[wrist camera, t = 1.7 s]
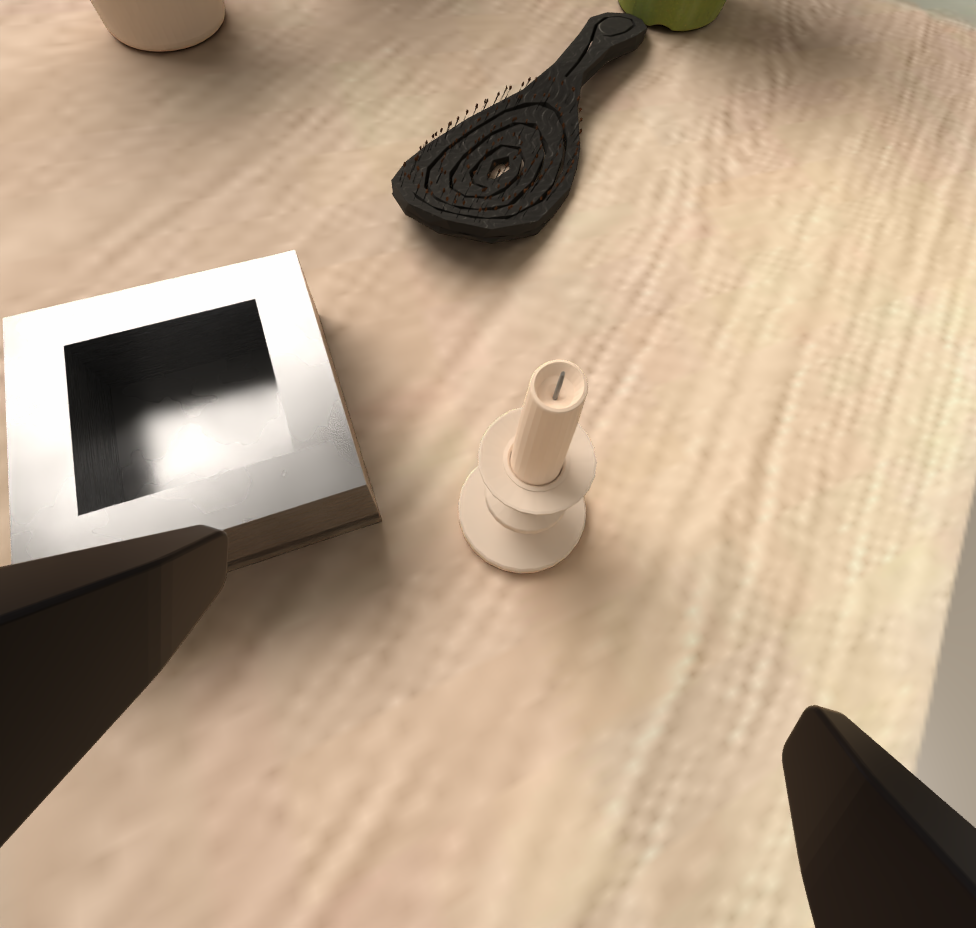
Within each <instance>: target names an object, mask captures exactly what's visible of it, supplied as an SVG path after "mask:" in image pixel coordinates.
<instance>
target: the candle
mask: <svg viewBox="0 0 976 928" xmlns="http://www.w3.org/2000/svg"><path fill="white" fill-rule="evenodd" d="M587 391H588V383H587V379H586V376H585V374H584V372H583V371H582V370H581V369H580V367H578V366H577V365H575V364H574V363H572V362H569V361H567V360H552V361H549V362H546V363H544V364H542V365H541V366H539V367H538V368H537V369H536V371H535V372H534V373H533V375H532V377H531V380H530V383H529V386H528V390H527V393H526V397H525V400H524V404H523V407H520V408H517V409H513V410H510V411H508V412H506V413H505V414H503V415H501V416H499V417H498V418H497V419H496V420H495V421H494V422H493V423H492V424H491V425H490V426H489V427H488V428H487V430H486V431H485V433H484V435H483V437H482V439H481V441H480V446H479V451H478V466H477V467H476V468H475V469H474V470H473V471H472V472H471V473H470V474H469V475H468V477H467V479H466V481H465V483H464V485H463V486H462V489H461V493H460V498H459V502H458V510H459V523H460V526H461V529H462V532H463V535H464V538H465V539H466V541H467V542H468V544H469V545H470V547H471V548H472V549H473V551H474V552H475V553H476V554H477V555H479V556H480V557H481V558H482V559H483V560H484V561H486V562H487V563H489V564H491V565H493V566H495V567H497V568H499V569H501V570H504V571H509V572H514V573H519V574H520V573H536V572H539V571H542V570H545V569H548V568H551V567H553V566H555V565H556V564H557V563H559V562H560V561H562V560H563V559H565V558H566V557H567V556H568V555H569V553H570V552H571V551H572V550H573V549H574V547H575V546H576V545H577V543H578V542H579V539H580V537H581V535H582V532H583V530H584V527H585V519H586V507H585V500H584V495H585V494H586V493H587V492H588V490H589V489H590V486H591V484H592V482H593V480H594V477H595V473H596V464H597V460H596V454H595V448H594V446H593V444H592V442H591V439H590V437H589V435H588V434H587V433H586V431H585V430H584V429H583V428H582V427H581V425H580V424H579V423H578V421H579V418H580V414H581V411H582V408H583V405H584V401H585V398H586V395H587Z"/></svg>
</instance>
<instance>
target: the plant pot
mask: <svg viewBox="0 0 976 928" xmlns="http://www.w3.org/2000/svg"><path fill="white" fill-rule="evenodd" d="M618 2H619V4H620V6H621V7H622V9H623V10H624V11H625V12H626V13H627V14H631V15H634V16H636V17H638V18H640V19H642V20H643V22H644V24H645V25H648V26H652V25H655V24H661V25H664V26H666V27H668V28H670V29H671V30H672V31H688V30H692V29H697V28H700V27H703V26H705V25H707V24H709V23H710V22H712V21H713V20H714V19H715V18H716V17H717V16H718V14H719V13H720V11H721V9H722V7H723V5H724V3H725V2H726V0H618Z"/></svg>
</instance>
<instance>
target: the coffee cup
mask: <svg viewBox="0 0 976 928" xmlns="http://www.w3.org/2000/svg"><path fill="white" fill-rule="evenodd" d="M90 1H91V3H92V4H93V6H94V8H95V9H96V11H97V13H98V14H99V16H100V18H101V20H102V21H103V23H104V25H105V26H106V28H107V29H108V30H109V32H110V33H111V34H112V35H113V36H114V37H115V38H117V39H118V40H119V41H120V42H122V43H124V44H126V45H128V46H130V47H134V48H137V49H140V50H146V51H160V52H163V51H174V50H179V49H184V48H188V47H191V46H194V45H196V44H199V43H201V42H203V41H204V40H206V39H207V38H209V37H210V36H212V35H213V34H214V33H215V32H216V31H217V30H218V29H219V27H220V26H221V24H222V23H223V20H224V16H225V5H224V0H90Z"/></svg>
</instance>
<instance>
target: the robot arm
mask: <svg viewBox="0 0 976 928" xmlns="http://www.w3.org/2000/svg"><path fill="white" fill-rule="evenodd" d="M227 559H228V535H227V534H226V532H225V531H223V530H220V529H217V528H213V527H210V526H207V525H201V524H199V525H194V526H189V527H185V528H180V529H175V530H171V531H166V532H161V533H157V534H152V535H147V536H143V537H138V538H133V539H128V540H124V541H119V542H114V543H110V544H105V545H100V546H96V547H91V548H86V549H82V550H77V551H72V552H68V553H63V554H58V555H54V556H49V557H44V558H40V559H35V560H30V561H26V562H21V563H16V564H12V565H7V566H2V567H0V848H1V846H2V845H3V844H4V843H5V842H6V841H7V840H8V839H9V838H10V837H11V835H12V834H13V833H14V832H15V831H16V830H17V829H18V828H19V827H20V826H21V824H22V823H23V822H24V821H25V820H26V819H27V818H28V817H29V816H30V815H31V813H32V812H33V811H34V810H35V809H36V808H37V807H38V806H39V805H40V804H41V802H42V801H43V800H44V799H45V798H46V797H47V796H48V795H49V794H50V793H51V792H52V790H53V789H54V788H55V787H56V786H57V785H58V784H59V783H60V782H61V781H62V779H63V778H64V777H65V776H66V775H67V774H68V773H69V772H70V771H71V770H72V768H73V767H74V766H75V765H76V764H77V763H78V762H79V761H80V760H81V759H82V757H83V756H84V755H85V754H86V753H87V752H88V751H89V750H90V749H91V748H92V746H93V745H94V744H95V743H96V742H97V741H98V740H99V739H100V738H101V737H102V735H103V734H104V733H105V732H106V731H107V730H108V729H109V728H110V727H111V726H112V724H113V723H114V722H115V721H116V720H117V719H118V718H119V717H120V716H121V715H122V713H123V712H124V711H125V710H126V709H127V708H128V707H129V706H130V705H131V704H132V702H133V701H134V700H135V699H136V698H137V697H138V696H139V695H140V694H141V693H142V691H143V690H144V689H145V688H146V687H147V686H148V685H149V684H150V683H151V681H152V680H153V679H154V678H155V677H156V676H157V675H158V673H159V672H160V671H161V670H162V669H163V667H164V666H165V665H166V664H167V662H168V661H169V660H170V658H171V657H172V656H173V654H174V653H175V652H176V650H177V649H178V648H179V646H180V645H181V644H182V642H183V641H184V640H185V638H186V637H187V636H188V634H189V633H190V632H191V630H192V629H193V628H194V626H195V625H196V623H197V622H198V621H199V619H200V618H201V617H202V615H203V614H204V613H205V611H206V610H207V609H208V607H209V606H210V605H211V603H212V602H213V601H214V599H215V598H216V596H217V595H218V594H219V592H220V591H221V589H222V587H223V585H224V583H225V580H226V575H227ZM782 763H783V770H784V776H785V782H786V788H787V794H788V800H789V806H790V812H791V818H792V824H793V830H794V836H795V842H796V848H797V854H798V859H799V864H800V869H801V874H802V878H803V882H804V886H805V891H806V895H807V899H808V902H809V906H810V910H811V914H812V917H813V921H814V925H815V928H976V828H974V827H973V826H972V825H971V824H970V823H969V822H968V821H967V820H965V819H964V818H963V817H962V816H961V815H959V814H958V813H957V812H956V811H955V810H954V809H952V808H951V807H950V806H949V805H948V804H947V803H946V802H944V801H943V800H942V799H941V798H940V797H939V796H938V795H936V794H935V793H934V792H933V791H932V790H931V789H929V788H928V787H927V786H926V785H925V784H924V783H923V782H921V781H920V780H919V779H918V778H917V777H916V776H914V775H913V774H912V773H911V772H910V771H909V770H908V769H906V768H905V767H904V766H903V765H902V764H901V763H899V762H898V761H897V760H896V759H895V758H894V757H892V756H891V755H890V754H889V753H888V752H887V751H886V750H884V749H883V748H882V747H881V746H880V745H879V744H877V743H876V742H875V741H874V740H873V739H872V738H870V737H869V736H868V735H867V734H866V733H865V732H863V731H862V730H861V729H860V728H859V727H858V726H857V725H855V724H854V723H853V722H852V721H851V720H850V719H848V718H847V717H846V716H845V715H843V714H842V713H840V712H837V711H834V710H830V709H827V708H823V707H820V706H817V705H813V706H809V707H808V708H806V709H805V710H804V712H803V713H802V715H801V717H800V718H799V720H798V722H797V724H796V725H795V727H794V729H793V731H792V732H791V734H790V736H789V737H788V739H787V741H786V743H785V745H784V748H783V753H782Z"/></svg>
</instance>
